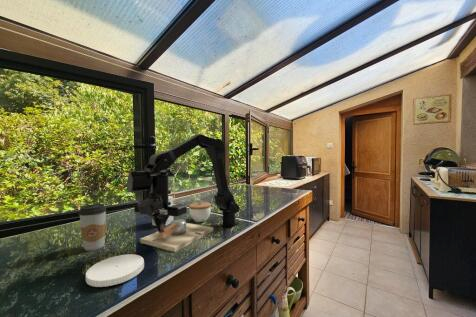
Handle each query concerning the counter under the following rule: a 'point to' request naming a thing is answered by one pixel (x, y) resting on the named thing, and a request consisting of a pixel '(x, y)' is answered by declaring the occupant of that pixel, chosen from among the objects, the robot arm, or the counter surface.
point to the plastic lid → (114, 270)
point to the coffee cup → (93, 226)
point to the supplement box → (169, 216)
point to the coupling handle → (173, 228)
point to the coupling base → (177, 238)
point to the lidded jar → (200, 211)
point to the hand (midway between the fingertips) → (160, 232)
